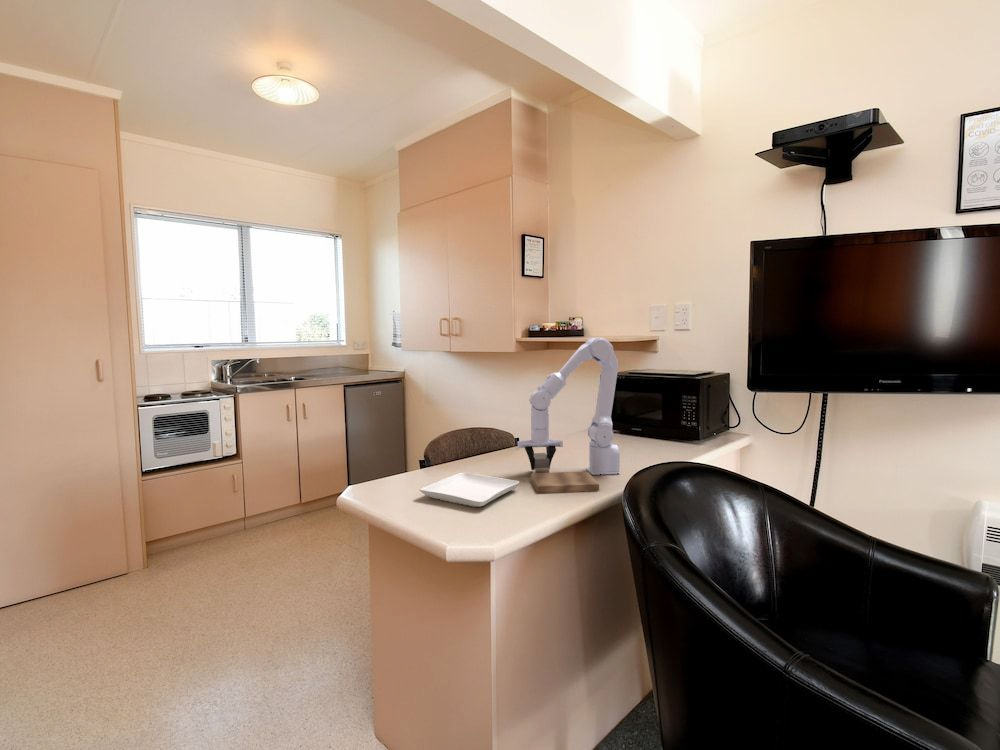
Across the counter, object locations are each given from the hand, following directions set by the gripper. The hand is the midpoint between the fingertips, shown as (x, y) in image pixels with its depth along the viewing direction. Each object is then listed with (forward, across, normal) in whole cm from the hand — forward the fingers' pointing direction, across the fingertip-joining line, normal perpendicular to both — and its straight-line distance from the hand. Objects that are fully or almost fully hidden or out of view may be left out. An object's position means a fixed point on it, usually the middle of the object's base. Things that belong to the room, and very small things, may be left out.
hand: (540, 469), depth 162 cm
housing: (+2, 0, 0) cm, 2 cm away
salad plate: (+2, +23, +19) cm, 30 cm away
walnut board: (+2, -5, +13) cm, 14 cm away
